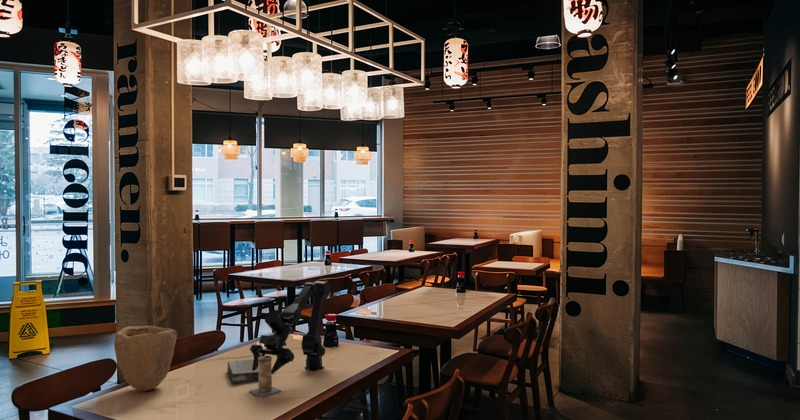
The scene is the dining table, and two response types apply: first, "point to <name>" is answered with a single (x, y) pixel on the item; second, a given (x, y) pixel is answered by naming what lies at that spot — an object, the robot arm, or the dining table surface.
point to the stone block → (242, 371)
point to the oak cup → (264, 374)
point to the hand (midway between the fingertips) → (262, 372)
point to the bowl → (145, 354)
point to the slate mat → (261, 395)
